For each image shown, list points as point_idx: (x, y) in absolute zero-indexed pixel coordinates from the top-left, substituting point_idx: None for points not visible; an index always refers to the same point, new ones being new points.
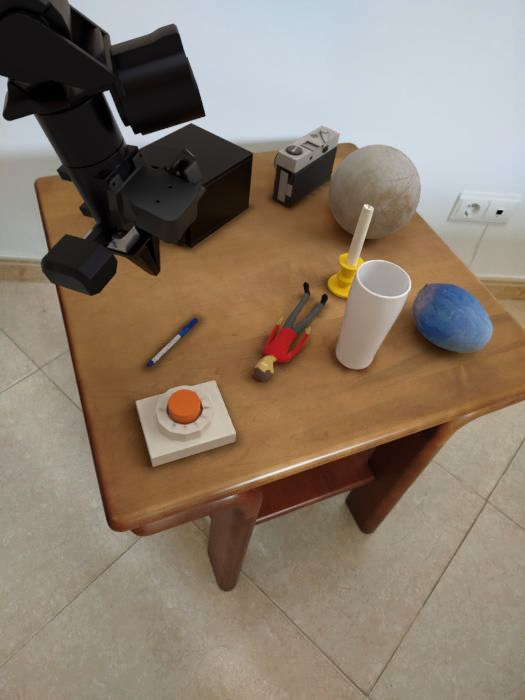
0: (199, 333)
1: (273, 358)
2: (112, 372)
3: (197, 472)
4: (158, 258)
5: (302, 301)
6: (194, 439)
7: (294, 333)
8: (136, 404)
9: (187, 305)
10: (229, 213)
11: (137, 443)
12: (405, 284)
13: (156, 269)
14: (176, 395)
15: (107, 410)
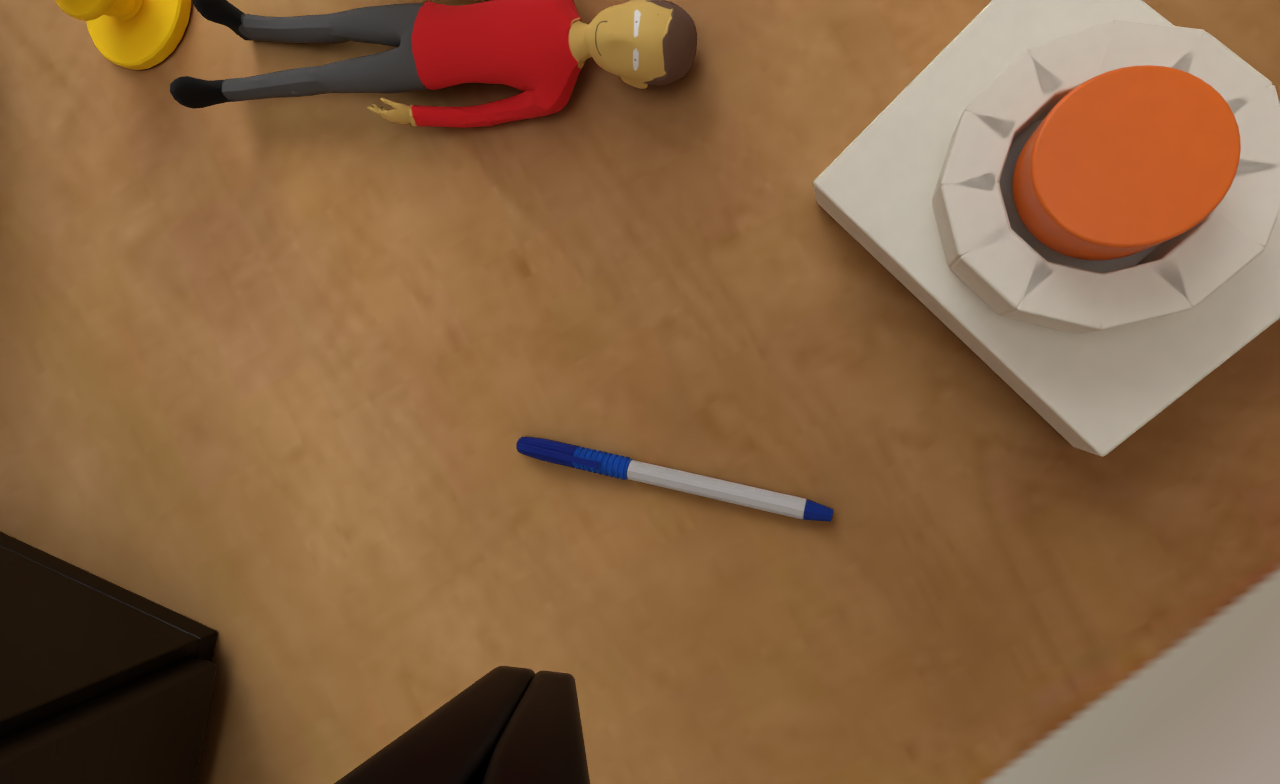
0: (578, 401)
1: (579, 27)
2: (931, 644)
3: (1270, 41)
4: (396, 773)
5: (265, 79)
6: None
7: (426, 8)
8: (1120, 442)
9: (472, 513)
10: (4, 563)
11: (1247, 360)
12: None
13: (526, 715)
14: (1107, 219)
15: (1137, 569)
